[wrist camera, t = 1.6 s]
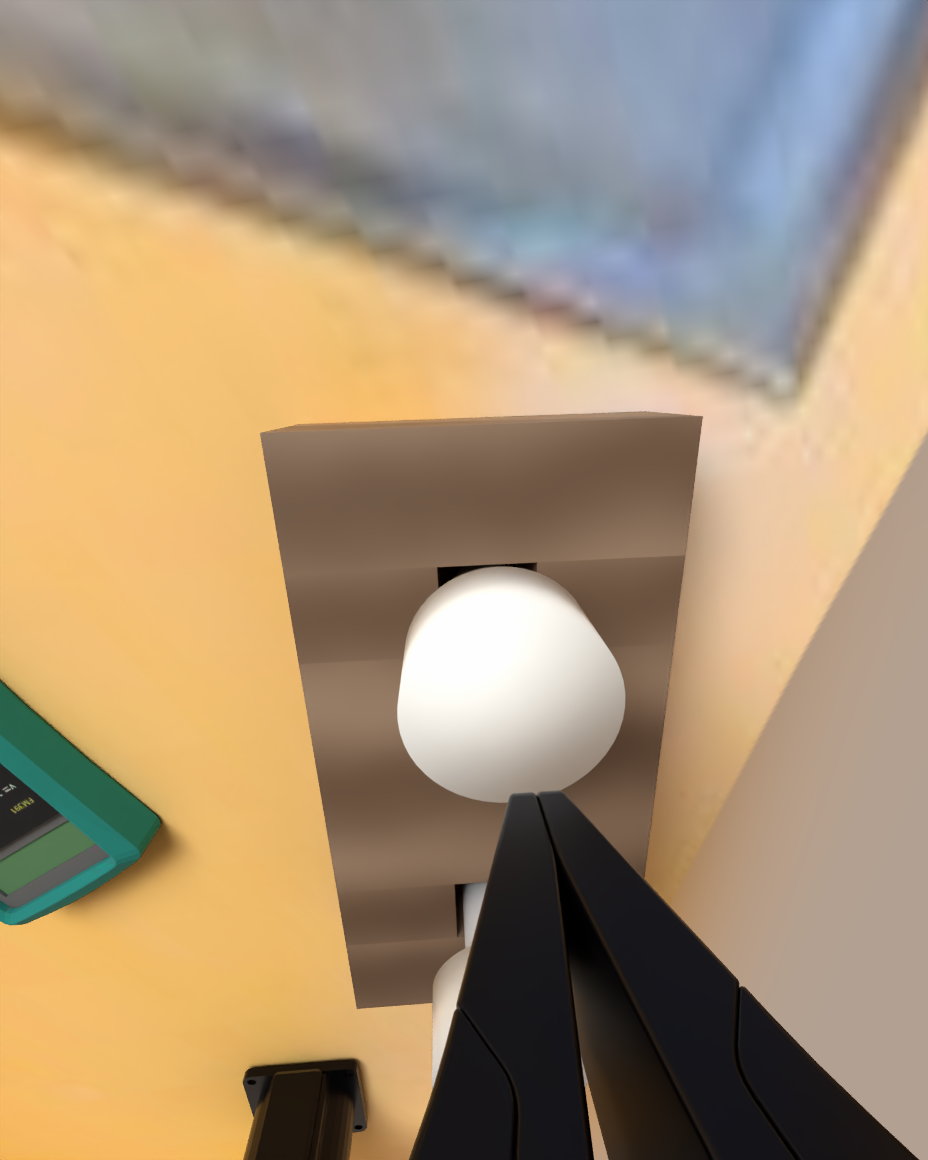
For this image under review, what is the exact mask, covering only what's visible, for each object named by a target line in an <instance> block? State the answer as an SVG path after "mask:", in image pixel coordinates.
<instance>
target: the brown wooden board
mask: <svg viewBox="0 0 928 1160" xmlns="http://www.w3.org/2000/svg"><path fill="white" fill-rule="evenodd" d="M702 418H703V416H692V415H680V414H668V413H657V412H620V413H593V414H566V415H539V416H512V417H485V418H458V419H431V420H404V421H377V422H350V423H323V424H298V425H294V426H289V427H285V428H280V429H276V430H271V431H267V432H262V433H260V436H261V442H262V448H263V454H264V460H265V465H266V471H267V477H268V483H269V489H270V495H271V501H272V507H273V513H274V519H275V525H276V531H277V537H278V543H279V549H280V555H281V561H282V566H283V572H284V578H285V584H286V590H287V596H288V602H289V608H290V614H291V620H292V626H293V632H294V638H295V644H296V650H297V656H298V662H299V667H300V673H301V679H302V685H303V691H304V697H305V703H306V709H307V715H308V721H309V727H310V733H311V739H312V745H313V751H314V757H315V763H316V768H317V774H318V780H319V786H320V792H321V798H322V804H323V810H324V816H325V822H326V828H327V834H328V840H329V846H330V852H331V858H332V864H333V869H334V875H335V881H336V887H337V893H338V899H339V905H340V911H341V917H342V923H343V929H344V935H345V941H346V947H347V953H348V959H349V965H350V971H351V976H352V982H353V988H354V994H355V1000H356V1006H357V1009H361V1008H373V1007H386V1006H399V1005H412V1004H424V1003H433V982H434V979H435V976H436V974H437V972H438V971H439V969H440V968H441V967H442V965H443V964H444V963H445V962H446V961H447V960H448V959H450V958H451V957H452V956H453V955H455V954H456V953H458V952H460V951H461V950H463V949H465V933H464V914H463V894H462V884H466V883H480V882H488V878H489V874H490V870H491V866H492V862H493V858H494V854H495V850H496V847H497V843H498V839H499V835H500V831H501V827H502V823H503V819H504V815H505V811H506V807H507V803H495V802H485V801H480V800H475V799H470V798H467V797H464V796H461V795H458V794H456V793H454V792H451V791H449V790H447V789H445V788H444V787H442V786H440V785H439V784H437V783H435V782H434V781H433V780H432V779H430V778H429V777H428V776H427V775H425V774H424V772H423V771H422V770H421V769H420V768H419V767H418V766H417V765H416V764H415V762H414V761H413V760H412V758H411V757H410V755H409V753H408V752H407V750H406V748H405V746H404V744H403V741H402V738H401V735H400V731H399V726H398V720H397V705H398V697H399V690H400V682H401V674H402V666H403V658H404V650H405V643H406V637H407V633H408V630H409V627H410V625H411V622H412V620H413V618H414V616H415V614H416V613H417V611H418V610H419V608H420V607H421V605H422V604H423V603H424V602H425V601H426V599H427V598H428V597H429V596H430V595H431V594H433V593H434V592H435V591H436V590H437V589H438V588H440V579H439V567H451V566H472V565H493V564H514V563H517V568H524V569H527V570H531V571H534V572H537V573H540V574H542V575H544V576H547V577H548V578H550V579H552V580H553V581H555V582H557V583H558V584H560V585H561V586H562V587H563V588H565V589H566V590H567V591H568V592H569V593H570V594H571V595H572V596H573V597H574V599H575V600H576V601H577V603H578V604H579V606H580V607H581V609H582V610H583V612H584V613H585V615H586V616H587V618H588V619H589V621H590V622H591V623H592V625H593V626H594V628H595V629H596V631H597V632H598V634H599V635H600V637H601V638H602V640H603V641H604V643H605V644H606V646H607V647H608V649H609V650H610V652H611V653H612V655H613V656H614V658H615V660H616V662H617V664H618V666H619V668H620V671H621V674H622V678H623V681H624V687H625V711H624V717H623V721H622V724H621V727H620V730H619V733H618V735H617V737H616V739H615V741H614V743H613V744H612V746H611V748H610V749H609V751H608V752H607V754H606V755H605V756H604V757H603V758H602V760H601V761H600V762H599V763H598V764H597V765H596V766H595V767H594V768H593V769H592V770H591V771H590V772H589V773H587V774H586V775H585V776H583V777H582V778H581V779H579V780H578V781H576V782H575V783H573V784H571V785H570V786H568V787H566V788H564V789H562V790H560V791H562V792H564V793H565V794H566V795H567V796H568V797H569V799H570V800H571V801H572V802H573V803H574V804H575V805H576V806H577V807H578V808H579V809H580V810H581V811H582V813H583V814H584V815H585V816H586V817H587V818H588V819H589V820H590V821H591V822H592V823H593V824H594V825H595V827H596V828H597V829H598V830H599V831H600V832H601V833H602V834H603V835H604V836H605V837H606V838H607V839H608V841H609V842H610V843H611V844H612V845H613V846H614V847H615V848H616V849H617V850H618V851H619V852H620V853H621V855H622V856H623V857H624V858H625V859H626V860H627V861H628V862H629V863H630V864H631V865H632V866H633V867H634V869H635V870H636V871H637V872H638V873H639V874H640V875H641V876H642V877H643V878H644V875H645V868H646V860H647V852H648V844H649V836H650V828H651V820H652V812H653V804H654V797H655V789H656V781H657V773H658V765H659V757H660V749H661V741H662V733H663V726H664V718H665V710H666V702H667V694H668V686H669V678H670V670H671V662H672V655H673V647H674V639H675V631H676V623H677V615H678V607H679V599H680V591H681V584H682V576H683V568H684V560H685V552H686V544H687V536H688V528H689V520H690V513H691V505H692V497H693V489H694V481H695V473H696V465H697V457H698V449H699V442H700V434H701V426H702Z"/></svg>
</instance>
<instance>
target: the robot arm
mask: <svg viewBox="0 0 928 1160" xmlns="http://www.w3.org/2000/svg"><path fill="white" fill-rule="evenodd" d="M456 1008H457V1009H456V1010H455V1011H454V1013H453V1017H452V1021H451V1025H450V1029H449V1033H448V1037H447V1041H446V1044H445V1048H444V1051H443V1055H442V1058H441V1062H440V1065H439V1069H438V1072H437V1076H436V1079H435V1083H434V1086H433V1090H432V1093H431V1097H430V1100H429V1103H428V1106H427V1109H426V1112H425V1114H424V1117H423V1120H422V1123H421V1126H420V1129H419V1132H418V1135H417V1138H416V1141H415V1144H414V1147H413V1149H412V1152H411V1155H410V1158H409V1160H594V1156H593V1148H592V1140H591V1132H590V1124H589V1116H588V1108H587V1101H586V1092H585V1084H584V1076H583V1068H582V1062H583V1065H584V1069H585V1073H586V1077H587V1080H588V1084H589V1088H590V1091H591V1095H592V1099H593V1103H594V1107H595V1110H596V1114H597V1118H598V1121H599V1125H600V1129H601V1133H602V1136H603V1140H604V1144H605V1148H606V1151H607V1155H608V1159H609V1160H919V1159H918V1158H917V1157H915V1156H914V1155H913V1154H912V1153H911V1152H910V1151H909V1150H908V1149H907V1148H906V1147H905V1146H904V1145H903V1144H902V1143H900V1142H899V1141H898V1140H897V1139H896V1138H895V1137H894V1136H893V1135H892V1134H891V1133H890V1132H889V1131H888V1130H887V1129H885V1128H884V1127H883V1126H882V1125H881V1124H880V1123H879V1122H878V1121H877V1120H876V1119H875V1118H874V1117H873V1116H872V1115H871V1114H869V1112H867V1111H866V1110H865V1109H864V1108H863V1107H862V1106H861V1105H860V1104H859V1103H858V1102H857V1101H856V1100H855V1099H854V1098H853V1097H852V1096H851V1095H850V1094H849V1093H848V1092H847V1091H846V1090H845V1089H844V1088H843V1087H842V1086H840V1085H839V1084H838V1083H837V1082H836V1081H835V1080H834V1079H833V1078H832V1077H831V1076H830V1075H829V1074H828V1073H827V1072H826V1071H825V1070H824V1069H823V1068H822V1067H821V1066H820V1065H819V1064H818V1063H817V1062H816V1061H815V1060H814V1059H813V1058H812V1057H811V1056H810V1055H809V1054H808V1053H807V1052H806V1051H805V1050H804V1049H803V1048H802V1047H801V1046H800V1045H799V1044H798V1043H797V1042H796V1040H794V1039H793V1037H792V1036H791V1035H789V1033H788V1032H787V1031H786V1030H785V1029H784V1028H783V1027H782V1026H781V1025H780V1024H779V1023H778V1022H777V1021H776V1020H775V1019H774V1018H773V1017H772V1016H771V1015H770V1014H769V1013H768V1011H767V1010H766V1009H765V1008H764V1007H763V1006H762V1005H761V1004H760V1003H759V1002H758V1001H757V1000H756V999H755V997H754V996H753V995H752V994H751V993H750V992H749V991H748V990H747V989H746V988H745V987H743V986H741V987H740V988H739V981H738V979H737V978H736V977H735V976H734V975H733V974H732V973H731V972H730V971H729V970H728V969H727V967H726V966H725V965H724V964H723V963H722V962H721V961H720V960H719V959H718V958H717V957H716V956H715V955H714V954H713V953H712V951H711V950H710V949H709V948H708V947H707V946H706V945H705V944H704V943H703V942H702V941H701V940H700V938H698V936H696V934H695V933H694V932H693V931H692V930H691V929H690V928H689V927H688V926H687V925H686V923H685V922H684V921H683V920H682V919H681V918H680V917H679V916H678V915H677V914H676V913H675V912H674V910H673V909H672V908H671V907H670V906H669V905H668V904H667V903H666V902H665V901H664V900H663V899H662V898H661V896H660V895H659V894H658V893H657V892H656V891H655V890H654V889H653V888H652V887H651V886H650V885H649V884H648V882H647V881H646V880H645V879H644V878H643V877H642V876H641V875H640V874H639V873H638V872H637V871H636V870H635V869H634V867H633V866H632V865H631V864H630V863H629V862H628V861H627V860H626V859H625V858H624V857H623V856H622V855H621V853H620V852H619V851H618V850H617V849H616V848H615V847H614V846H613V845H612V844H611V843H610V842H609V841H608V839H607V838H606V837H605V836H604V835H603V834H602V833H601V832H600V831H599V830H598V829H597V828H596V827H595V825H594V824H593V823H592V822H591V821H590V820H589V819H588V818H587V817H586V816H585V815H584V814H583V813H582V811H581V810H580V809H579V808H578V807H577V806H576V805H575V804H574V803H573V802H572V801H571V800H570V799H569V797H568V796H567V795H566V794H565V793H564V792H562V791H560V790H555V791H540V792H538V793H537V795H535V793H533V792H523V793H512V794H511V795H510V796H509V800H508V803H507V807H506V811H505V815H504V819H503V823H502V827H501V831H500V835H499V839H498V843H497V847H496V850H495V854H494V858H493V862H492V866H491V870H490V874H489V878H488V882H487V886H486V890H485V894H484V897H483V901H482V905H481V909H480V913H479V917H478V921H477V925H476V929H475V933H474V937H473V940H472V944H471V948H470V952H469V956H468V960H467V964H466V968H465V972H464V976H463V980H462V983H461V987H460V991H459V995H458V999H457V1003H456ZM581 1058H582V1060H581ZM243 1085H244V1088H245V1091H246V1095H247V1098H248V1101H249V1104H250V1107H251V1110H252V1113H253V1117H254V1120H253V1124H252V1127H251V1131H250V1135H249V1139H248V1143H247V1147H246V1151H245V1155H244V1159H243V1160H349V1159H350V1150H351V1141H352V1132H361V1131H364V1130H365V1129H366V1128H367V1112H366V1106H365V1101H364V1095H363V1090H362V1084H361V1078H360V1073H359V1067H358V1064H357V1063H356V1062H355V1061H350V1060H348V1061H336V1062H324V1063H311V1064H299V1065H287V1066H275V1067H263V1068H252V1069H248V1070H247V1071H246V1072H245V1075H244V1079H243Z"/></svg>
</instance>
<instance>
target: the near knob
mask: <svg viewBox="0 0 928 1160" xmlns="http://www.w3.org/2000/svg"><path fill="white" fill-rule="evenodd" d="M624 711H625V687H624V681H623V678H622V674H621V671H620V668H619V666H618V664H617V662H616V660H615V658H614V656H613V655H612V653H611V652H610V650H609V649H608V647H607V646H606V644H605V643H604V641H603V640H602V638H601V637H600V635H599V634H598V632H597V631H596V629H595V628H594V626H593V625H592V623H591V622H590V621H589V619H588V618H587V616H586V615H585V613H584V612H583V610H582V609H581V607H580V606H579V604H578V603H577V601H576V600H575V599H574V597H573V596H572V595H571V594H570V593H569V592H568V591H567V590H566V589H565V588H563V587H562V586H561V585H560V584H558V583H557V582H555V581H553V580H552V579H550V578H548V577H547V576H544V575H542V574H540V573H537V572H534V571H531V570H527V569H524V568H517V567H505V566H504V565H502V564H493V565H472V566H465V567H464V568H462V569H461V570H460V571H459V572H458V573H457V574H456V575H455V576H454V578H453V579H452V580H450V581H448V582H447V583H445V584H444V585H442V586H441V587H440V588H438V589H437V590H436V591H435V592H434V593H433V594H431V595H430V596H429V597H428V598H427V599H426V601H425V602H424V603H423V604H422V605H421V607H420V608H419V610H418V611H417V613H416V614H415V616H414V618H413V620H412V622H411V625H410V627H409V630H408V633H407V637H406V643H405V650H404V658H403V666H402V674H401V682H400V690H399V697H398V705H397V720H398V726H399V731H400V735H401V738H402V741H403V744H404V746H405V748H406V750H407V752H408V753H409V755H410V757H411V758H412V760H413V761H414V762H415V764H416V765H417V766H418V767H419V768H420V769H421V770H422V771H423V772H424V774H425V775H427V776H428V777H429V778H430V779H432V780H433V781H434V782H435V783H437V784H439V785H440V786H442V787H444V788H445V789H447V790H449V791H451V792H454V793H456V794H458V795H461V796H464V797H467V798H470V799H475V800H480V801H485V802H495V803H508V800H509V796H510V795H511V794H512V793H523V792H533V793H535V795H537V793H538V792H540V791H555V790H562V789H564V788H566V787H568V786H570V785H571V784H573V783H575V782H576V781H578V780H579V779H581V778H582V777H583V776H585V775H586V774H587V773H589V772H590V771H591V770H592V769H593V768H594V767H595V766H596V765H597V764H598V763H599V762H600V761H601V760H602V758H603V757H604V756H605V755H606V754H607V752H608V751H609V749H610V748H611V746H612V744H613V743H614V741H615V739H616V737H617V735H618V733H619V730H620V727H621V724H622V721H623V717H624Z"/></svg>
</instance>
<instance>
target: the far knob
mask: <svg viewBox="0 0 928 1160" xmlns="http://www.w3.org/2000/svg"><path fill="white" fill-rule="evenodd" d="M486 886H487V882H480V883H466V884H462V894H463V914H464V933H465V949H463V950H461V951H460V952H458V953H456V954H455V955H453V956H452V957H451V958H450V959H448V960H447V961H446V962H445V963H444V964H443V965H442V967H441V968H440V969H439V971H438V972H437V974H436V976H435V979H434V982H433V1015H432V1088H433V1086H434V1083H435V1079H436V1076H437V1072H438V1069H439V1065H440V1062H441V1058H442V1055H443V1051H444V1048H445V1044H446V1041H447V1037H448V1033H449V1029H450V1025H451V1021H452V1017H453V1013H454V1011H455V1010H456V1009H457V1008H456V1003H457V999H458V995H459V991H460V987H461V983H462V980H463V976H464V972H465V968H466V964H467V960H468V956H469V952H470V948H471V944H472V940H473V937H474V933H475V929H476V925H477V921H478V917H479V913H480V909H481V905H482V901H483V897H484V894H485V890H486ZM581 1060H582V1058H581ZM582 1068H583V1076H584V1084H585V1087H586V1085H587V1084H588V1080H587V1077H586V1073H585V1069H584V1065H583V1062H582Z"/></svg>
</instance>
